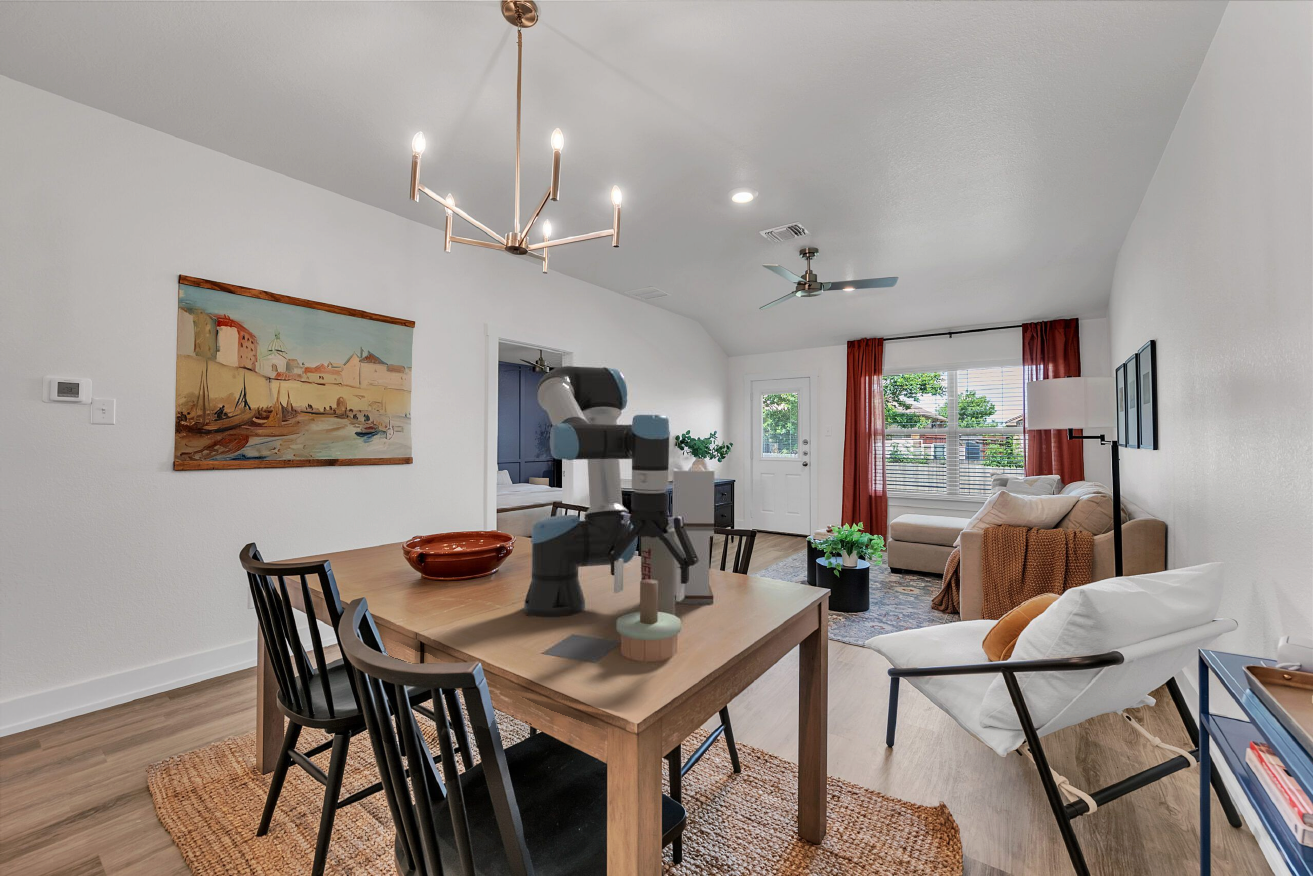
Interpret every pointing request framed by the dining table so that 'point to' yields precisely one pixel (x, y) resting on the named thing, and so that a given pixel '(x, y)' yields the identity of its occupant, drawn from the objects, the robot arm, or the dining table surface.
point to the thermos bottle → (660, 569)
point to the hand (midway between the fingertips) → (648, 595)
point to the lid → (648, 617)
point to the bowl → (649, 648)
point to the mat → (582, 648)
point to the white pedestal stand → (695, 528)
